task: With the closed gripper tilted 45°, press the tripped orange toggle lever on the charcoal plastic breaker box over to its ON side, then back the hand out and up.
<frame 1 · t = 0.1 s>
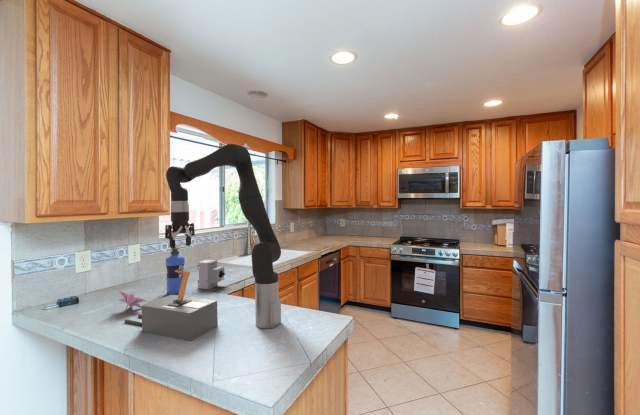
hand: (180, 246, 135), 29 cm above the counter, tool pointing down, fingers open, 8 cm apart
breaker lever: (183, 286, 118), point 16 cm above the counter, hinge at -20.0°
breaker box: (180, 328, 116), on the counter
lily: (131, 311, 136), on the counter
water bottle: (176, 292, 163), on the counter
circuit breaker: (212, 287, 173), on the counter
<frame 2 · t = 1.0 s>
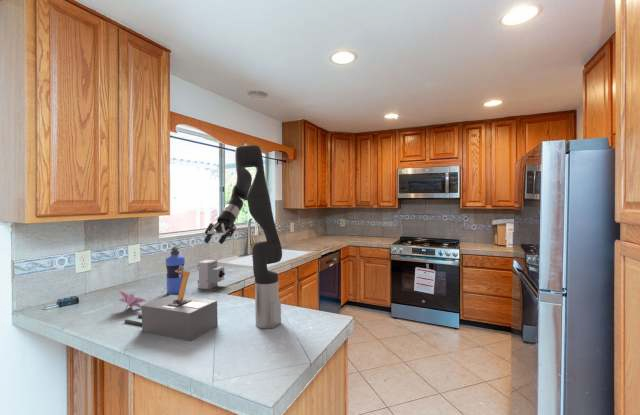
hand: (213, 242, 134), 31 cm above the counter, tool tilted 45°, fingers open, 7 cm apart
nothing on the counter moved.
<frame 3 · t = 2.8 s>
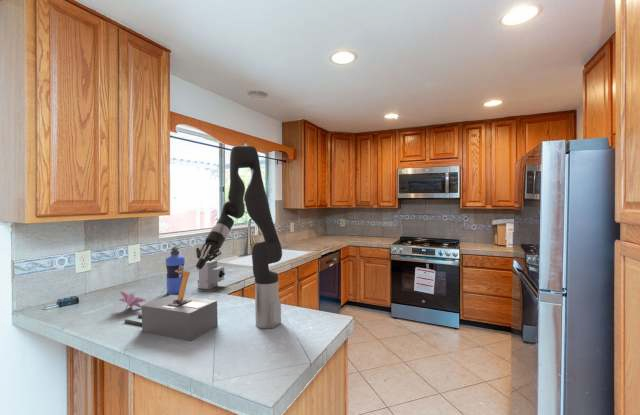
hand: (198, 268, 125), 22 cm above the counter, tool tilted 45°, fingers closed
nothing on the counter moved.
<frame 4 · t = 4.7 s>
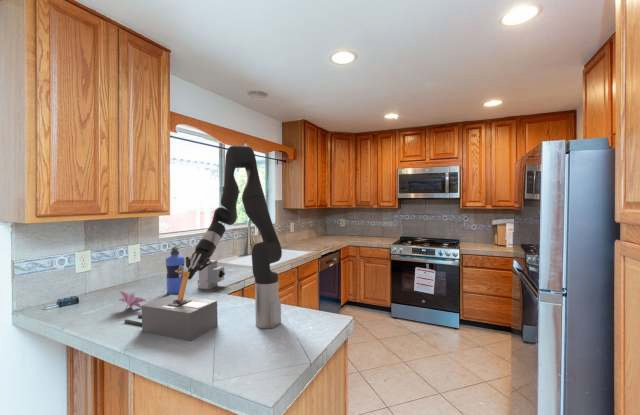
hand: (187, 278, 120), 19 cm above the counter, tool tilted 45°, fingers closed
breaker lever: (183, 286, 118), point 16 cm above the counter, hinge at -19.9°, touching gripper
everything else where it was.
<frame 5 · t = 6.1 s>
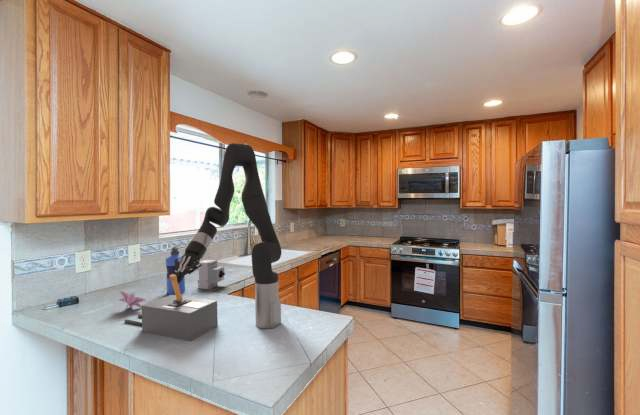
hand: (176, 282, 115), 19 cm above the counter, tool tilted 45°, fingers closed
breaker lever: (176, 288, 115), point 16 cm above the counter, hinge at 16.6°, touching gripper
everything else where it was.
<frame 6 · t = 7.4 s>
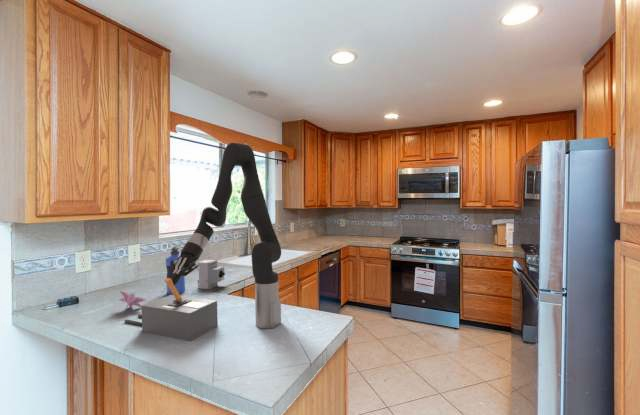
hand: (171, 284, 113), 18 cm above the counter, tool tilted 45°, fingers closed
breaker lever: (174, 290, 114), point 16 cm above the counter, hinge at 29.5°, touching gripper
everything else where it was.
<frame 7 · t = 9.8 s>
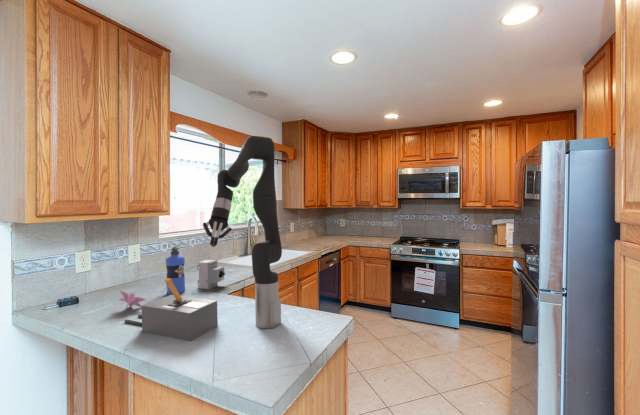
hand: (212, 246, 129), 30 cm above the counter, tool tilted 25°, fingers closed
breaker lever: (174, 290, 114), point 16 cm above the counter, hinge at 29.6°
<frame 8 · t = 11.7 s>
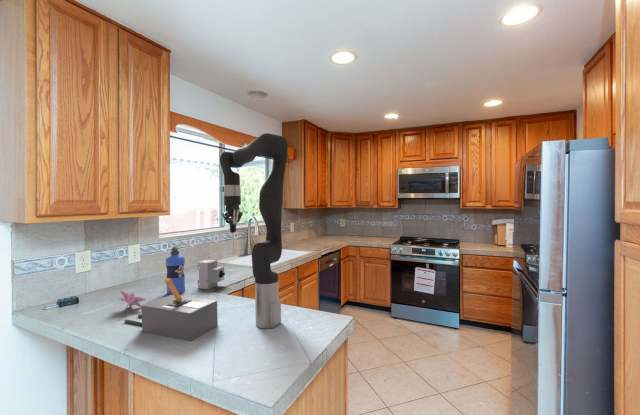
hand: (233, 232, 139), 35 cm above the counter, tool pointing down, fingers closed
at the end: breaker lever at +30° (first picture: -20°) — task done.
